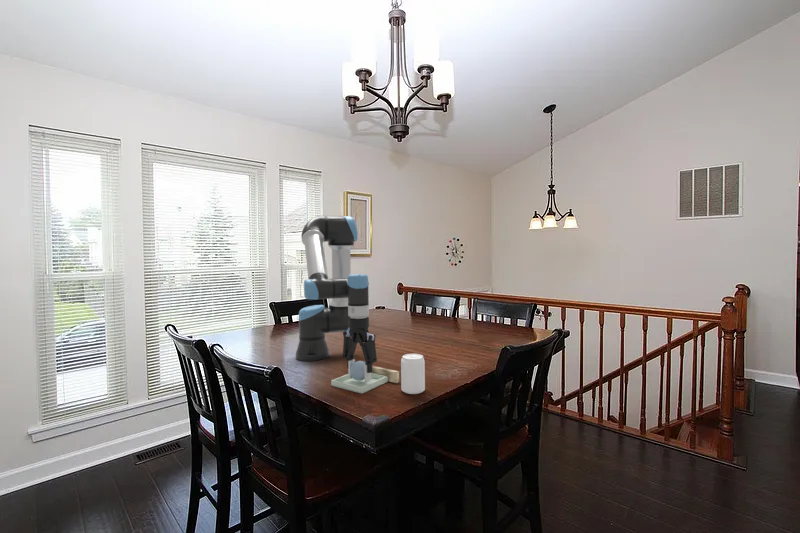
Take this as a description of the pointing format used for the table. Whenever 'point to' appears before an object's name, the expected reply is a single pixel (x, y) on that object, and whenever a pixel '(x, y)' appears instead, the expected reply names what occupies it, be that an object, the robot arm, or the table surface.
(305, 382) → the table surface
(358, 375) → the ball
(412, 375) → the beverage can
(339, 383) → the tray
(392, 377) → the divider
